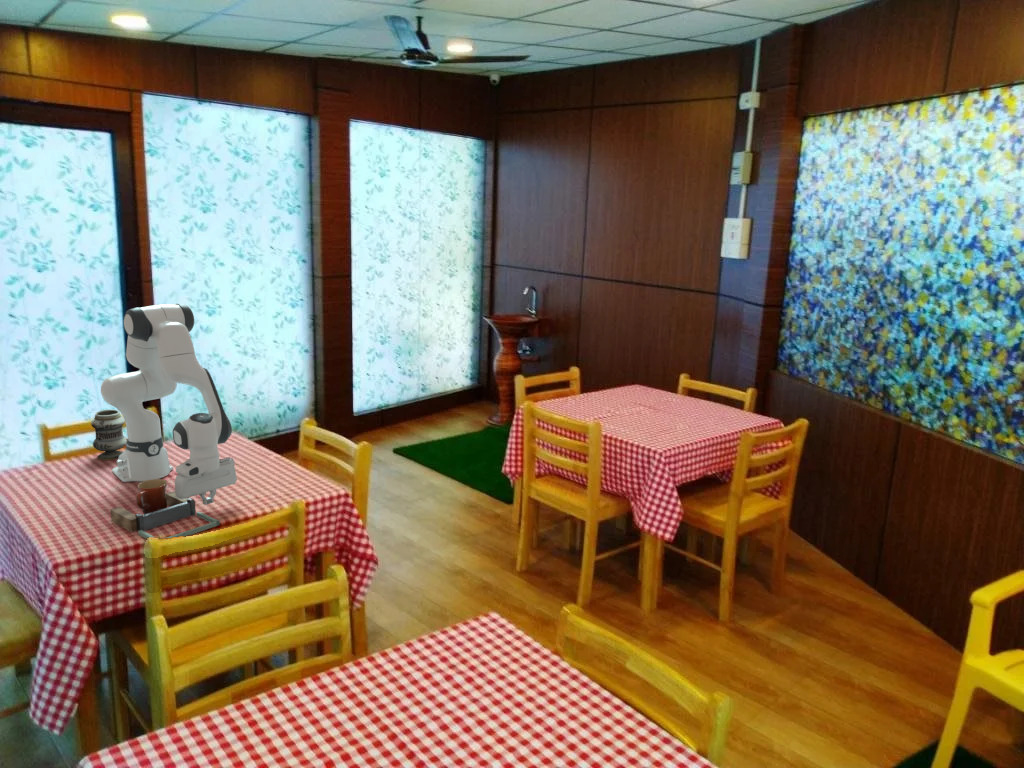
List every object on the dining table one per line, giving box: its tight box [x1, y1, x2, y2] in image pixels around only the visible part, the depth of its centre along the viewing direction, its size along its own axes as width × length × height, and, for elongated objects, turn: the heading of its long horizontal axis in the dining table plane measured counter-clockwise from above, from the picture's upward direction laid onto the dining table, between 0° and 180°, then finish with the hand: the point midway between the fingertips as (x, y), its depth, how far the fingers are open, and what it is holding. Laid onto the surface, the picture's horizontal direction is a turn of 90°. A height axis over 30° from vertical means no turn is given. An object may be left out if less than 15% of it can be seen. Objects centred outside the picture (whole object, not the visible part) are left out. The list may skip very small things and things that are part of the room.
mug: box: [135, 478, 168, 515], centre depth 252 cm, size 12×9×10 cm
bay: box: [137, 511, 221, 539], centre depth 243 cm, size 12×20×1 cm, turn 142°
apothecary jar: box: [90, 409, 128, 461], centre depth 307 cm, size 12×12×18 cm
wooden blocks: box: [110, 490, 197, 533], centre depth 252 cm, size 13×21×4 cm, turn 142°
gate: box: [135, 497, 196, 532], centre depth 247 cm, size 2×18×5 cm, turn 142°
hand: (208, 503), depth 258 cm, fingers closed
